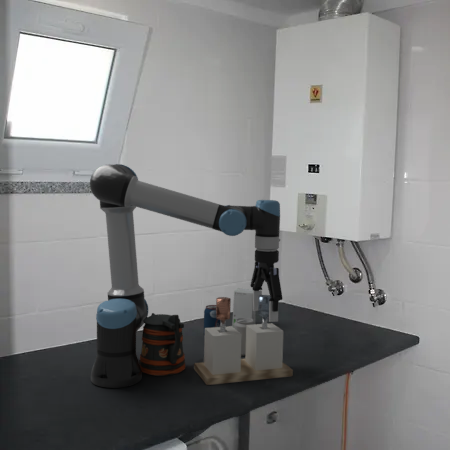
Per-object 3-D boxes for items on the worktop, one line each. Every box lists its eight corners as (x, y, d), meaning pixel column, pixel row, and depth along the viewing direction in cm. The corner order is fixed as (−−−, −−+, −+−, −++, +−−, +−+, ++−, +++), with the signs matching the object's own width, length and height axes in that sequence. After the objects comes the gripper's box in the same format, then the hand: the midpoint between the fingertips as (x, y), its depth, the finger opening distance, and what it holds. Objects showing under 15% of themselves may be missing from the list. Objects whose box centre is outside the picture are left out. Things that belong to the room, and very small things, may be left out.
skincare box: (231, 329, 235) (232, 291, 233) (236, 325, 241) (237, 287, 239) (252, 331, 232) (253, 292, 230) (256, 327, 238) (257, 289, 237)
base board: (206, 385, 175) (207, 378, 175) (194, 369, 189) (194, 363, 188) (292, 376, 184) (292, 369, 184) (274, 361, 198) (274, 355, 197)
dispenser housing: (212, 374, 178) (213, 336, 177) (204, 365, 187) (204, 328, 186) (282, 367, 186) (283, 330, 184) (270, 358, 194) (272, 323, 193)
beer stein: (201, 375, 183) (202, 312, 181) (160, 385, 175) (161, 319, 173) (170, 358, 199) (171, 300, 196) (131, 366, 190) (131, 305, 188)
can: (229, 354, 204) (230, 320, 203) (238, 348, 211) (239, 315, 209) (248, 358, 201) (249, 323, 199) (257, 352, 207) (258, 318, 206)
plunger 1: (217, 361, 181) (218, 300, 179) (213, 356, 185) (214, 297, 183) (231, 360, 182) (232, 299, 180) (226, 355, 186) (227, 296, 184)
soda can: (220, 341, 219) (221, 309, 218) (202, 339, 220) (202, 308, 219) (223, 335, 226) (223, 305, 224) (205, 334, 227) (206, 303, 226)
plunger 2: (260, 357, 185) (261, 298, 183) (254, 353, 189) (256, 295, 187) (272, 356, 187) (274, 297, 185) (267, 352, 191) (269, 294, 189)
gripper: (295, 255, 174) (292, 325, 176) (262, 243, 197) (261, 305, 200) (271, 256, 172) (269, 327, 174) (241, 244, 195) (240, 307, 197)
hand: (264, 315), depth 187 cm, fingers open, 13 cm apart
